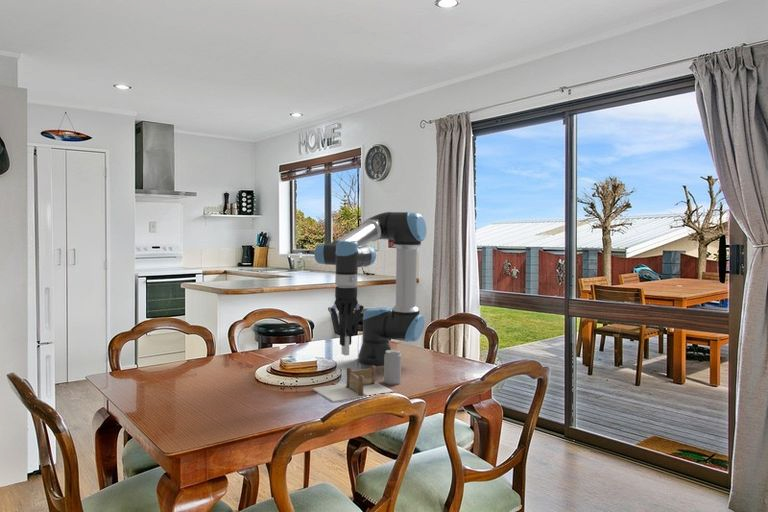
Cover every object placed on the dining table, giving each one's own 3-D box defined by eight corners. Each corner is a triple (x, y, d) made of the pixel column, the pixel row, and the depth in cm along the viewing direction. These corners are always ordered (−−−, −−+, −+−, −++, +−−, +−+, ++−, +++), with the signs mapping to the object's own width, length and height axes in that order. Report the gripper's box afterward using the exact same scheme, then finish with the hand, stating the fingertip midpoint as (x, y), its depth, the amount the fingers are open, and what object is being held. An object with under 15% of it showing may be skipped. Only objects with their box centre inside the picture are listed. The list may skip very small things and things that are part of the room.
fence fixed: (345, 388, 195) (346, 367, 194) (373, 383, 201) (373, 364, 201) (347, 389, 193) (348, 369, 193) (375, 385, 200) (376, 365, 199)
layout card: (312, 389, 192) (312, 387, 192) (370, 380, 205) (370, 379, 205) (333, 402, 179) (333, 400, 179) (393, 392, 192) (393, 390, 192)
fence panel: (359, 395, 184) (359, 377, 184) (348, 387, 193) (348, 370, 192) (364, 394, 185) (364, 376, 185) (352, 387, 194) (353, 369, 193)
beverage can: (386, 385, 199) (387, 353, 199) (381, 380, 206) (382, 349, 205) (402, 384, 201) (403, 353, 200) (397, 380, 207) (398, 349, 207)
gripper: (334, 288, 178) (333, 359, 179) (368, 286, 185) (367, 354, 186) (324, 286, 184) (323, 354, 186) (357, 284, 191) (356, 349, 193)
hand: (345, 354), depth 186 cm, fingers closed
